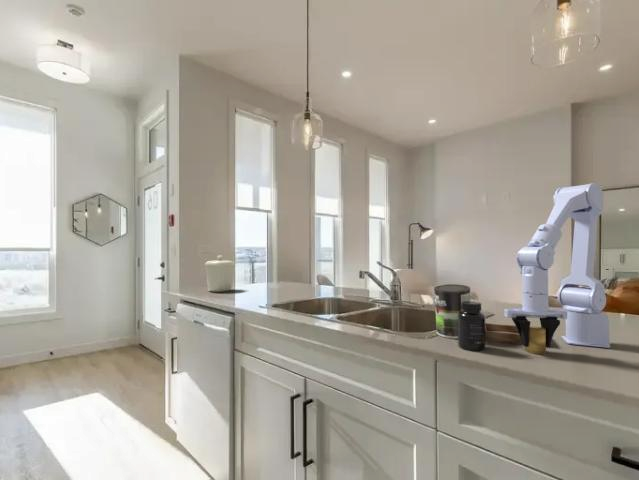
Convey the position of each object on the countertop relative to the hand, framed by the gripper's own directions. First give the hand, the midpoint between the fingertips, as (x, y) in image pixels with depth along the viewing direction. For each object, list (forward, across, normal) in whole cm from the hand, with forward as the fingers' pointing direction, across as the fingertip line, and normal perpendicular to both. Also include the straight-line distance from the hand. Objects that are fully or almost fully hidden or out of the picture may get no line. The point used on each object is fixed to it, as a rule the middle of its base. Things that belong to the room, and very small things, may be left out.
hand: (535, 346), depth 90 cm
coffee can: (+1, +16, -15) cm, 22 cm away
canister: (+2, +125, -107) cm, 164 cm away
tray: (+1, 0, -13) cm, 13 cm away
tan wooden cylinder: (+1, 0, 0) cm, 1 cm away
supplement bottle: (+2, +15, -2) cm, 15 cm away
